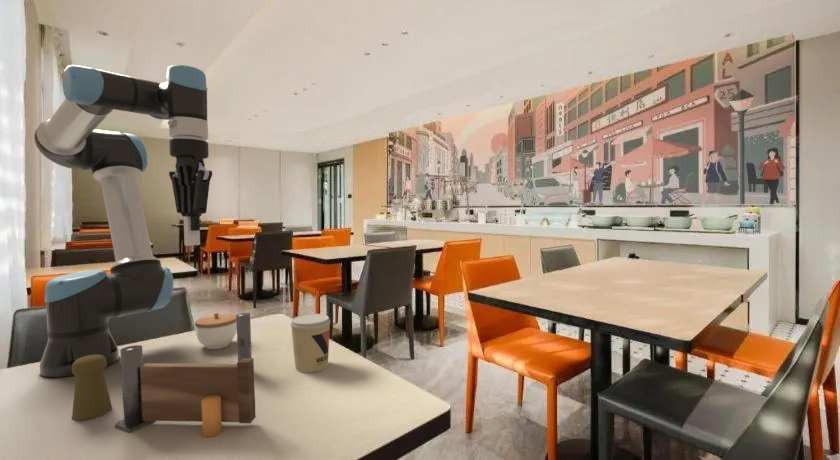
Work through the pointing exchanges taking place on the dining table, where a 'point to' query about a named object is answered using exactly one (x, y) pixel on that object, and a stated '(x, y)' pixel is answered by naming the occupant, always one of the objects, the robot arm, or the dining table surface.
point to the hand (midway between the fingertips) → (192, 244)
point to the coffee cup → (310, 342)
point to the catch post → (211, 415)
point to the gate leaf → (197, 390)
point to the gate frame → (132, 378)
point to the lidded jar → (216, 330)
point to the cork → (90, 388)
